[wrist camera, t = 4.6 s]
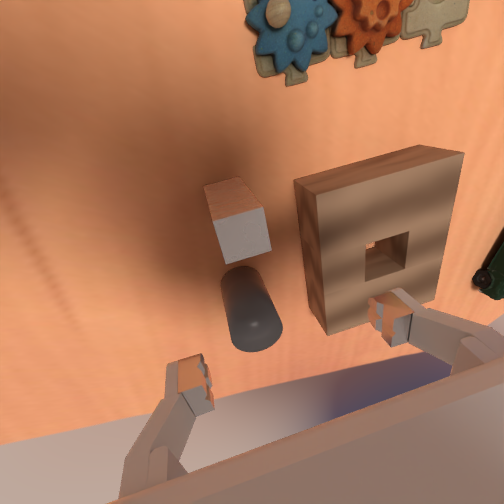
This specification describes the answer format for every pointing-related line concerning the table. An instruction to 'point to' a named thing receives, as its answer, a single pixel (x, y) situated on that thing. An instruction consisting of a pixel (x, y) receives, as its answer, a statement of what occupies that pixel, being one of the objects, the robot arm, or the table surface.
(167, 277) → the table surface
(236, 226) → the square bit
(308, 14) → the gear puzzle
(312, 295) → the bore block
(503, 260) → the miniature car
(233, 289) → the round bit
